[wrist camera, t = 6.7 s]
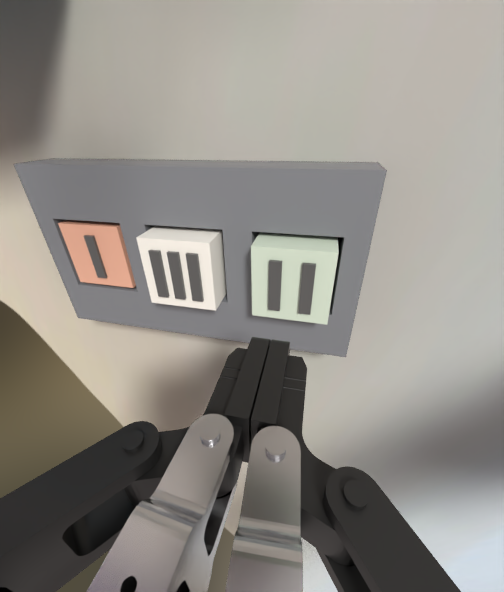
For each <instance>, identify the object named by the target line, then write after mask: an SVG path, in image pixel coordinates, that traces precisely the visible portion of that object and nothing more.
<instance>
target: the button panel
mask: <svg viewBox="0 0 504 592" xmlns="http://www.w3.org/2000/svg"><path fill="white" fill-rule="evenodd" d="M14 166H15V169H16V171H17V173H18V176H19V178H20V181H21V183H22V185H23V188H24V190H25V193H26V195H27V197H28V200H29V202H30V204H31V207H32V209H33V212H34V214H35V216H36V219H37V221H38V224H39V226H40V228H41V231H42V233H43V235H44V238H45V240H46V243H47V245H48V247H49V250H50V252H51V255H52V257H53V259H54V262H55V264H56V266H57V269H58V271H59V274H60V276H61V278H62V281H63V283H64V286H65V288H66V290H67V293H68V295H69V297H70V300H71V302H72V305H73V307H74V309H75V312H76V314H77V317H78V318H82V319H89V320H96V321H103V322H109V323H116V324H123V325H130V326H137V327H143V328H150V329H157V330H164V331H171V332H177V333H184V334H191V335H198V336H205V337H211V338H218V339H225V340H232V341H239V342H245V343H250V341H251V338H252V337H258V338H265V339H271V340H272V339H273V340H280V341H288V342H290V349H293V350H300V351H306V352H313V353H320V354H327V355H334V356H340V357H346V354H347V350H348V345H349V341H350V336H351V331H352V327H353V322H354V318H355V313H356V309H357V304H358V299H359V295H360V290H361V286H362V281H363V277H364V272H365V267H366V263H367V258H368V254H369V249H370V245H371V240H372V235H373V231H374V226H375V222H376V217H377V213H378V208H379V203H380V199H381V194H382V190H383V185H384V181H385V176H386V172H387V170H386V169H385V168H384V167H382V166H381V165H380V164H379V163H378V162H295V161H212V160H129V159H46V160H38V161H31V162H24V163H16V164H14ZM65 220H81V221H96V222H112V223H120V227H121V231H122V235H123V238H124V242H125V246H126V250H127V253H128V257H129V261H130V265H131V268H132V272H133V276H134V280H135V283H136V286H135V287H134V288H129V287H120V286H111V285H103V284H94V283H86V282H80V279H79V277H78V274H77V272H76V269H75V266H74V264H73V261H72V258H71V256H70V253H69V251H68V248H67V245H66V243H65V240H64V237H63V235H62V232H61V230H60V227H59V224H58V223H60V222H63V221H65ZM156 225H159V226H174V227H190V228H205V229H221V230H223V244H224V258H225V272H226V286H227V293H226V295H225V296H224V298H223V300H222V301H221V303H220V305H219V306H218V308H217V310H216V311H215V310H207V309H199V308H191V307H183V306H175V305H167V304H159V303H152V301H151V297H150V293H149V289H148V285H147V280H146V276H145V272H144V268H143V264H142V260H141V256H140V251H139V247H138V243H137V239H136V237H138V236H140V235H141V234H143V233H145V232H146V231H148V230H150V229H151V228H153V227H155V226H156ZM260 232H268V233H283V234H299V235H314V236H330V237H340V241H339V247H338V250H339V254H338V260H337V267H336V273H335V279H334V286H333V292H332V298H331V304H330V311H329V317H328V323H327V325H326V324H318V323H310V322H302V321H294V320H286V319H278V318H270V317H262V316H254V315H252V279H251V245H252V244H253V242H254V241H255V239H256V237H257V236H258V234H259V233H260Z"/></svg>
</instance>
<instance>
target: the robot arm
mask: <svg viewBox="0 0 504 592" xmlns="http://www.w3.org/2000/svg"><path fill="white" fill-rule="evenodd" d="M289 353H290V342H288V341H280V340H273V339H272V340H271V339H265V338H258V337H252V338H251V341H250V344H249V346H248V349H242V348H237V349H236V350H235V351H234V352H232V353H231V354H230V355H229V356H228V359H227V361H226V363H225V366H224V369H223V371H222V373H221V375H220V378H219V380H218V382H217V385H216V387H215V390H214V392H213V394H212V397H211V399H210V401H209V404H208V406H207V409H206V411H205V413H204V414H203V416H201V417H199V418H198V419H196V420H195V421H194V422H193V423H192V424H191V426H189V427H187V428H184V429H180V430H173V431H164V432H158V430H157V428H156V427H155V426H154V425H153V424H151V423H149V422H145V421H140V422H134V423H131V424H129V425H127V426H125V427H123V428H122V429H120V430H118V431H117V432H115V433H113V434H111V435H110V436H108V437H106V438H104V439H103V440H101V441H99V442H97V443H96V444H94V445H92V446H91V447H89V448H87V449H85V450H84V451H82V452H80V453H78V454H77V455H75V456H73V457H71V458H70V459H68V460H66V461H64V462H63V463H61V464H59V465H58V466H56V467H54V468H52V469H51V470H49V471H47V472H45V473H44V474H42V475H40V476H38V477H37V478H35V479H33V480H32V481H30V482H28V483H26V484H25V485H23V486H21V487H19V488H18V489H16V490H14V491H13V492H11V493H9V494H7V495H6V496H4V497H2V498H0V592H56V591H57V590H58V589H60V588H61V587H62V586H63V585H65V584H66V583H67V582H69V581H70V580H71V579H72V578H74V577H75V576H76V575H78V574H79V573H80V572H81V571H83V570H84V569H85V568H87V567H88V566H89V565H90V564H92V563H93V562H94V561H95V560H97V559H98V558H99V557H100V556H102V555H103V554H104V553H106V552H107V551H108V550H109V549H111V550H110V552H109V553H108V555H107V557H106V559H105V560H104V562H103V564H102V566H101V568H100V569H99V571H98V573H97V574H96V576H95V578H94V580H93V581H92V583H91V585H90V587H89V588H88V590H87V592H207V590H208V586H209V582H210V577H211V572H212V565H213V560H214V556H215V553H216V549H217V546H218V543H219V540H220V537H221V534H222V531H223V528H224V525H225V521H226V518H227V515H228V512H229V509H230V506H231V503H232V500H233V497H234V493H235V490H236V487H237V480H238V476H239V472H240V468H241V464H242V461H243V462H248V469H247V476H246V482H245V489H244V495H243V501H242V508H241V514H240V520H239V525H238V529H237V531H236V534H235V538H234V543H233V548H232V554H231V559H230V565H229V572H228V578H227V584H226V590H225V592H303V555H302V542H301V537H302V538H303V539H305V540H306V541H307V542H309V543H310V544H312V545H313V546H314V547H316V549H317V551H318V553H319V555H320V557H321V559H322V561H323V563H324V565H325V567H326V569H327V571H328V573H329V575H330V577H331V579H332V581H333V583H334V585H335V586H336V588H337V590H338V592H461V591H460V590H459V589H458V587H457V586H456V585H455V584H454V582H453V581H452V580H451V578H450V577H449V576H448V575H447V573H446V572H445V571H444V569H443V568H442V567H441V566H440V564H439V563H438V562H437V560H436V559H435V558H434V557H433V555H432V554H431V553H430V551H429V550H428V549H427V548H426V546H425V545H424V544H423V542H422V541H421V540H420V539H419V537H418V536H417V535H416V533H415V532H414V531H413V530H412V528H411V527H410V526H409V524H408V523H407V522H406V521H405V519H404V518H403V517H402V515H401V514H400V513H399V512H398V510H397V509H396V508H395V506H394V505H393V504H392V503H391V501H390V500H389V499H388V497H387V496H386V495H385V494H384V492H383V491H382V490H381V488H380V487H379V486H378V485H377V483H376V482H375V481H374V480H373V479H372V478H371V477H370V476H369V475H368V474H366V473H365V472H363V471H361V470H359V469H357V468H353V467H341V468H338V469H335V468H333V467H331V466H329V465H328V464H326V463H324V462H322V461H321V460H319V459H318V458H316V457H315V456H314V455H313V454H312V453H311V452H310V451H309V450H308V448H307V447H306V445H305V443H304V440H303V436H302V423H303V411H304V399H305V387H306V374H307V367H306V365H305V363H304V360H303V358H302V357H296V356H290V355H289Z"/></svg>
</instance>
